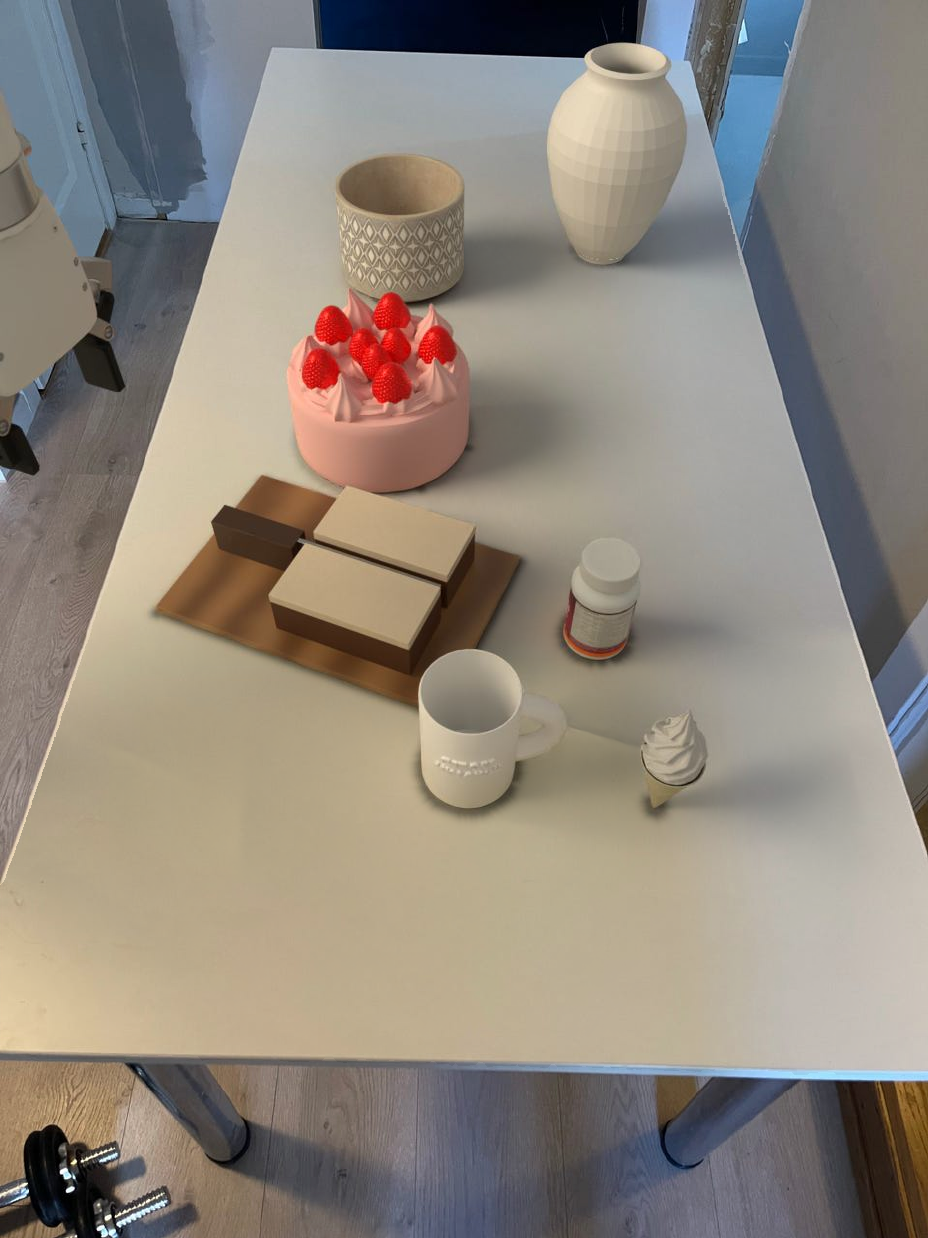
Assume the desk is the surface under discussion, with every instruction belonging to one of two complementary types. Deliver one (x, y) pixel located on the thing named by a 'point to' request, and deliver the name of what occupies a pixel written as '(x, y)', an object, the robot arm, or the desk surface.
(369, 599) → the cake
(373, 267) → the planter
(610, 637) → the pill bottle
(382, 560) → the cake
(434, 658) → the cake board
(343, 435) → the cake
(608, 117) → the vase
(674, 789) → the ice cream cone
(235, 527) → the knife
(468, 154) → the desk surface
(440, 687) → the mug
